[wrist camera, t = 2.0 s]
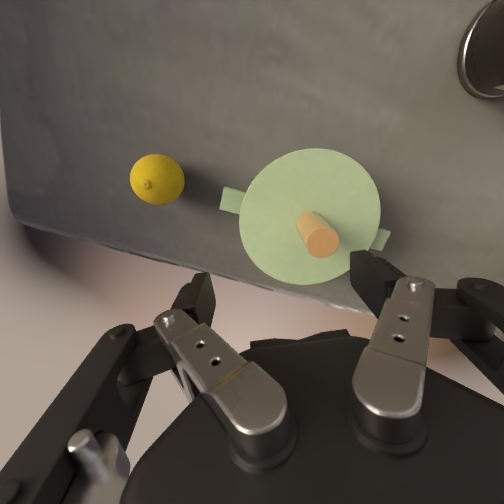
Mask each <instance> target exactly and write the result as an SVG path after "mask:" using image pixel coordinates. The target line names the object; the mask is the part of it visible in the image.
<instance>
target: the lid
mask: <svg viewBox="0 0 504 504" xmlns="http://www.w3.org/2000/svg"><path fill="white" fill-rule="evenodd" d="M379 222H380V199H379V195H378V191H377V188H376V186H375V184H374V182H373V180H372V178H371V177H370V175H369V174H368V172H367V171H366V170H365V169H364V168H363V167H362V166H361V165H360V164H359V163H358V162H356V161H355V160H354V159H352V158H350V157H349V156H347V155H345V154H342V153H340V152H337V151H333V150H329V149H319V148H312V149H302V150H298V151H294V152H291V153H288V154H285V155H283V156H281V157H280V158H278V159H276V160H274V161H273V162H271V163H270V164H269V165H267V166H266V167H265V168H264V169H263V170H262V171H261V172H260V173H259V174H258V175H257V176H256V177H255V179H254V180H253V181H252V183H251V185H250V186H249V188H248V190H247V192H246V194H245V196H244V199H243V202H242V205H241V210H240V217H239V227H240V235H241V239H242V243H243V245H244V248H245V250H246V252H247V254H248V255H249V257H250V258H251V260H252V261H253V262H254V263H255V264H256V265H257V267H258V268H259V269H261V270H262V271H263V272H265V273H266V274H268V275H269V276H271V277H273V278H275V279H277V280H279V281H283V282H286V283H290V284H298V285H310V284H317V283H322V282H325V281H329V280H331V279H334V278H336V277H338V276H340V275H342V274H344V273H345V272H347V271H348V270H349V269H350V252H351V251H358V250H367V251H368V250H369V248H370V246H371V244H372V243H373V241H374V238H375V236H376V234H377V230H378V227H379Z"/></svg>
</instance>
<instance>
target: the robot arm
mask: <svg viewBox="0 0 504 504" xmlns="http://www.w3.org/2000/svg"><path fill="white" fill-rule="evenodd" d="M457 68H458V74H459V78H460V81H461V83H462V85H463V86H464V88H465V89H466V90H467V91H468V92H469V93H470V94H472V95H474V96H476V97H479V98H496V97H501V96H504V0H492V1H491V2H489V3H488V4H487V5H486V6H485V7H484V8H483V9H482V10H481V11H480V12H479V13H478V14H477V15H476V16H475V18H474V19H473V21H472V22H471V24H470V25H469V27H468V29H467V30H466V32H465V34H464V37H463V39H462V42H461V45H460V48H459V53H458V61H457ZM350 281H351V285H352V287H353V289H354V290H355V291H356V292H357V294H358V295H359V296H360V297H361V299H362V300H363V301H364V302H365V304H366V305H367V306H368V307H369V309H370V310H371V311H372V313H373V314H374V315H375V316H376V317H377V319H378V321H377V324H376V326H375V329H374V332H373V334H372V337H371V339H370V340H369V339H366V338H361V337H355V336H350V334H349V333H348V331H347V329H343V330H335V331H328V332H321V333H318V334H316V335H313V336H309V337H306V338H304V339H300V340H292V339H275V338H273V339H265V340H258V341H251V342H250V349H248V350H246V351H243V352H241V353H239V354H238V353H237V352H236V351H235V350H234V349H233V348H232V347H231V346H230V345H229V344H228V343H226V342H225V341H224V340H223V339H222V338H221V337H220V336H219V335H218V334H216V332H215V331H213V330H212V329H211V323H212V319H213V315H214V311H215V306H216V300H215V294H214V290H213V286H212V282H211V277H210V274H209V272H204V273H197V274H195V275H194V277H193V279H192V281H191V283H187V284H186V285H184V286H183V287H182V288H181V290H180V291H179V294H178V295H177V297H176V299H175V301H174V303H173V305H172V307H171V309H170V310H167V311H165V312H163V313H161V314H160V315H158V316H157V317H156V318H155V320H154V325H153V326H151V327H148V328H145V329H142V330H139V331H136V330H135V327H134V325H132V324H122V325H119V326H116V327H114V328H112V329H110V330H109V331H107V332H106V333H105V334H104V335H103V336H102V337H101V338H100V339H99V341H98V342H97V344H96V345H95V346H94V347H93V349H92V350H91V352H90V353H89V354H88V355H87V357H86V358H85V360H84V361H83V362H82V363H81V365H80V366H79V367H78V369H77V370H76V371H75V373H74V374H73V375H72V377H71V378H70V380H69V381H68V382H67V383H66V385H65V386H64V387H63V389H62V390H61V391H60V393H59V394H58V396H57V397H56V398H55V399H54V401H53V402H52V403H51V405H50V406H49V407H48V409H47V410H46V411H45V413H44V414H43V415H42V417H41V418H40V419H39V421H38V422H37V423H36V425H35V426H34V427H33V429H32V430H31V431H30V433H29V434H28V435H27V437H26V438H25V439H24V441H23V442H22V443H21V445H20V446H19V448H18V449H17V450H16V451H15V453H14V454H13V456H12V457H11V458H10V460H9V461H8V462H7V463H6V465H5V466H4V467H3V469H2V470H1V471H0V504H504V406H503V405H501V404H499V403H497V402H495V401H493V400H491V399H489V398H487V397H485V396H483V395H481V394H479V393H477V392H475V391H473V390H471V389H469V388H467V387H465V386H464V385H461V384H459V383H458V382H456V381H454V380H451V379H449V378H447V377H445V376H443V375H441V374H440V373H437V372H436V371H434V370H432V369H430V368H428V367H426V362H427V354H428V345H429V337H435V338H445V339H446V338H447V339H450V341H451V342H452V343H453V344H454V345H455V346H456V347H457V348H458V349H459V350H460V351H461V352H462V353H463V354H464V355H465V356H466V357H467V358H468V359H469V360H470V361H471V362H472V363H473V364H474V365H475V366H476V367H477V368H478V369H479V370H480V371H481V372H482V373H483V374H484V375H485V376H486V377H487V378H488V379H489V380H490V381H491V382H492V383H493V384H494V385H495V386H496V387H497V388H498V389H499V390H500V391H501V392H502V393H503V394H504V342H503V341H501V340H500V339H499V338H498V337H496V336H495V335H494V331H495V327H496V326H497V327H498V328H499V329H500V330H501V331H502V332H503V333H504V287H503V286H502V285H500V284H498V283H496V282H493V281H490V280H486V279H481V278H463V279H460V280H459V281H458V282H457V288H456V289H441V288H435V285H434V283H433V282H431V281H429V280H427V279H424V278H420V277H412V276H409V277H408V276H406V275H405V274H404V273H402V272H401V271H400V270H399V269H397V268H396V267H395V266H393V265H391V263H389V262H388V261H387V260H385V259H382V258H379V257H377V256H376V257H374V256H373V255H372V254H370V253H369V252H368V251H367V250H358V251H351V252H350ZM168 370H171V373H172V374H173V376H174V377H175V379H176V381H177V383H178V384H179V386H180V388H181V389H182V391H183V392H184V394H185V396H186V397H187V399H188V401H189V405H188V406H187V407H186V408H185V409H184V410H183V411H182V413H181V414H180V415H179V416H178V417H177V418H176V419H175V420H174V421H173V422H172V423H171V425H170V426H169V427H168V428H167V429H166V430H165V431H164V432H163V433H162V434H161V435H160V437H159V438H158V439H157V440H156V441H155V442H154V443H153V444H152V445H151V446H150V447H149V449H148V450H147V451H146V452H145V453H144V454H143V456H142V457H141V458H140V459H139V461H138V462H137V464H136V465H135V467H134V468H133V470H132V472H131V474H130V475H129V473H130V462H129V459H128V457H127V455H126V453H125V451H126V449H127V446H128V443H129V441H130V438H131V435H132V433H133V430H134V427H135V425H136V422H137V419H138V417H139V414H140V411H141V409H142V406H143V403H144V401H145V398H146V395H147V393H148V390H149V387H150V384H151V381H152V379H153V376H155V375H157V374H160V373H163V372H165V371H168ZM117 379H118V380H117Z"/></svg>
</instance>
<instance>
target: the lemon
mask: <svg viewBox="0 0 504 504" xmlns="http://www.w3.org/2000/svg"><path fill="white" fill-rule="evenodd" d="M130 181H131V186H132V188H133V190H134V192H135V193H136V194H137V196H139V197H140V198H141V199H142V200H144V201H146V202H148V203H151V204H159V205H162V204H167V203H170V202H172V201H174V200H175V199H176V198H177V197H178V196H180V194H181V192H182V191H183V188H184V174H183V171H182V169H181V167H180V166H179V165H178V164H177V162H175V161H174V160H173V159H172V158H169V157H167V156H165V155H160V154H152V155H148V156H145V157H143V158H141V159H140V160H139V161H137V162H136V163H135V165H134V166H133V168H132V171H131V174H130Z"/></svg>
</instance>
